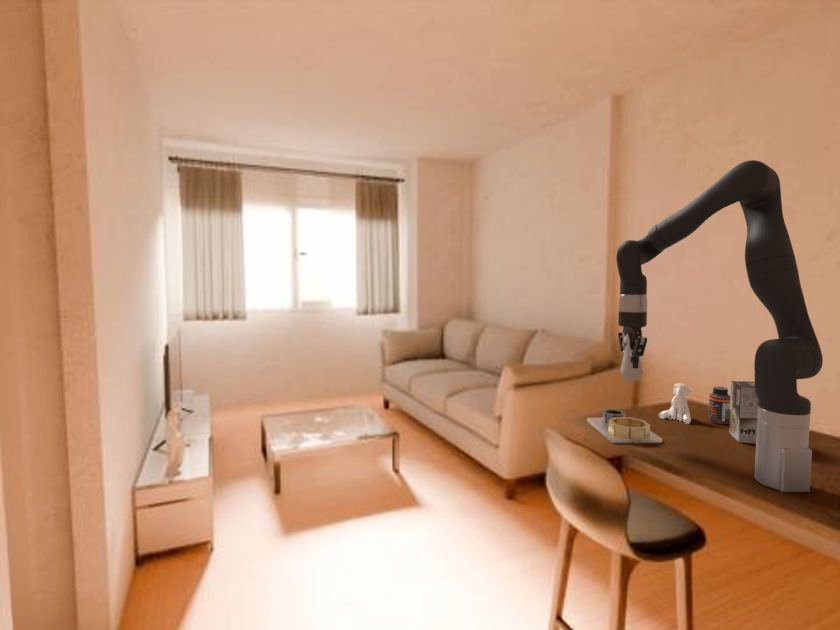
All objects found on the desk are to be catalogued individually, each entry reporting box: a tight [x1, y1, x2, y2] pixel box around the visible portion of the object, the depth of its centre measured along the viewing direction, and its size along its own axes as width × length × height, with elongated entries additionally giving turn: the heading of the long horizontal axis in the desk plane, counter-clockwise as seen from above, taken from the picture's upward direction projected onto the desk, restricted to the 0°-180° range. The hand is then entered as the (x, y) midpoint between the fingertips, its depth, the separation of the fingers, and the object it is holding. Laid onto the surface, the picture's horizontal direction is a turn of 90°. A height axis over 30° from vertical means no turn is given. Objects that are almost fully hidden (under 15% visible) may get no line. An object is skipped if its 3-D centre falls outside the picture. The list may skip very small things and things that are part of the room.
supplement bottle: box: [707, 386, 730, 425], centre depth 147 cm, size 6×6×11 cm
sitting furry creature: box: [658, 382, 693, 425], centre depth 151 cm, size 10×9×12 cm
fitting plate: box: [586, 408, 663, 444], centre depth 140 cm, size 20×14×4 cm
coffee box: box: [728, 380, 758, 445], centre depth 132 cm, size 9×6×16 cm
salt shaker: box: [620, 336, 643, 382], centre depth 133 cm, size 6×6×13 cm
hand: (631, 368), depth 134 cm, fingers closed on salt shaker, 3 cm apart
